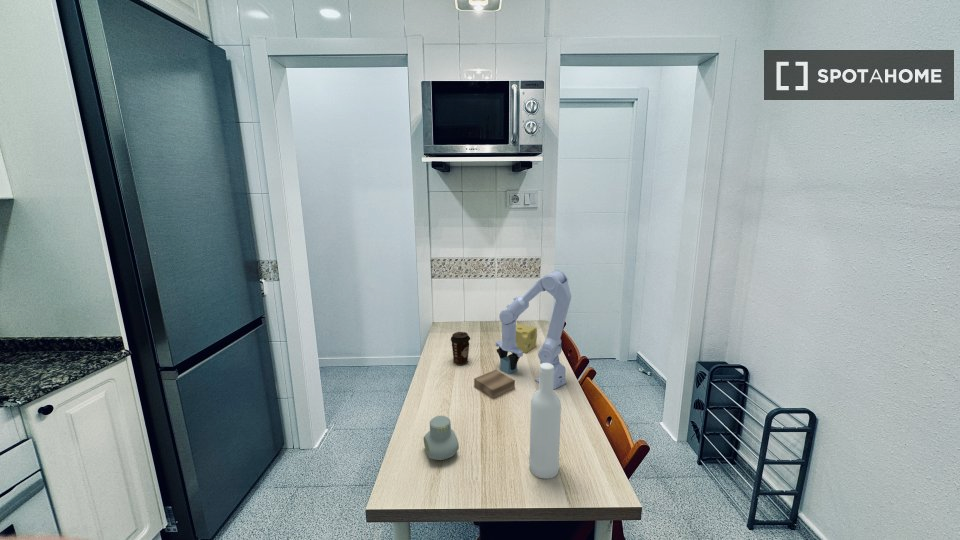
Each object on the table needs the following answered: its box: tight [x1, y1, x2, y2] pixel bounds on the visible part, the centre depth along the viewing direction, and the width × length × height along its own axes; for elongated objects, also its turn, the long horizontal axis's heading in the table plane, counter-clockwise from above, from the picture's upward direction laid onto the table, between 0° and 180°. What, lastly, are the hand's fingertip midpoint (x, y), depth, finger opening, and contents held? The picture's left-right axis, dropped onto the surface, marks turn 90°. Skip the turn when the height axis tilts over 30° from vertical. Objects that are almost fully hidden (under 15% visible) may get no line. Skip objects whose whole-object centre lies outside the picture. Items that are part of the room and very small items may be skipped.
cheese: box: [516, 323, 538, 354], centre depth 175 cm, size 10×11×10 cm
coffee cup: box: [450, 331, 471, 366], centre depth 159 cm, size 9×8×13 cm
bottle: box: [528, 363, 562, 480], centre depth 95 cm, size 8×8×30 cm
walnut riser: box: [473, 369, 516, 400], centre depth 138 cm, size 11×11×4 cm
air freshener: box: [423, 415, 460, 461], centre depth 103 cm, size 11×8×10 cm
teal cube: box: [499, 355, 518, 375], centre depth 152 cm, size 5×5×5 cm
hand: (508, 367), depth 152 cm, fingers closed on teal cube, 5 cm apart
